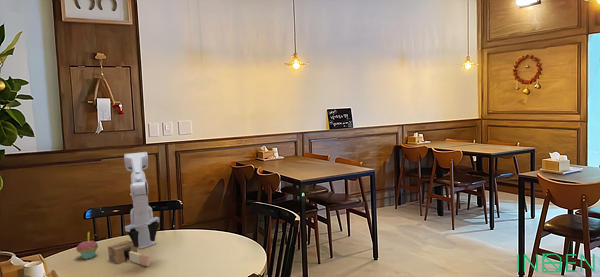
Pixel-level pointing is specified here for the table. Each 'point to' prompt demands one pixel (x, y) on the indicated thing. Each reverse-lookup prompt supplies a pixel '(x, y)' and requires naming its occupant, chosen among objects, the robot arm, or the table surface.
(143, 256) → the pink flat bar
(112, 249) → the dispenser
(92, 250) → the cupcake
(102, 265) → the table surface
